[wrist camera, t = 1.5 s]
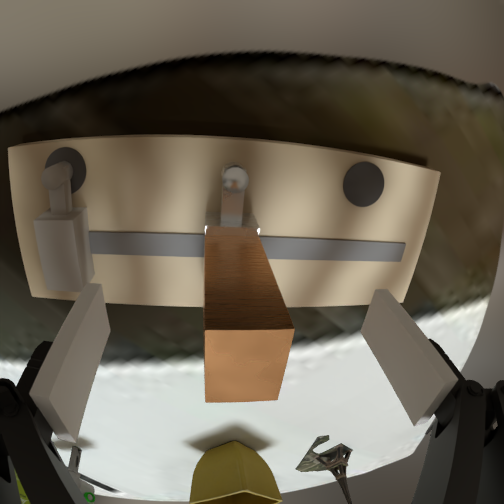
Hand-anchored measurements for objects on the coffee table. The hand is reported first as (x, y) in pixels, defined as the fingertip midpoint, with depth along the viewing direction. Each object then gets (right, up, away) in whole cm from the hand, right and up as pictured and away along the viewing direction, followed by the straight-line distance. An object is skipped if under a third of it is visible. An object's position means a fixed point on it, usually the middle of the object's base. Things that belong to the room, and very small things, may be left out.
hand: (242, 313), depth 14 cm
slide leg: (-1, +4, +6) cm, 7 cm away
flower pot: (-3, -25, +22) cm, 33 cm away
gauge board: (-1, +5, +8) cm, 9 cm away
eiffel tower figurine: (+13, -30, +28) cm, 43 cm away
